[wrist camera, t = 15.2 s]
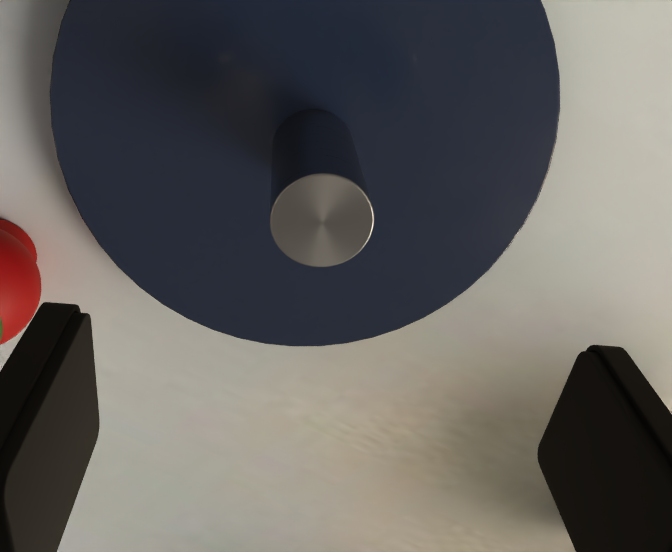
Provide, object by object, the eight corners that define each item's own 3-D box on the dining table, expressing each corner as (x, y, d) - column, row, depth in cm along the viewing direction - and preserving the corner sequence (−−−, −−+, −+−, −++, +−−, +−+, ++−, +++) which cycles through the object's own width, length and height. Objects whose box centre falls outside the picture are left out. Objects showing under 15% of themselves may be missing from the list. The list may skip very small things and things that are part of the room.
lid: (84, 320, 27) (27, 443, 21) (26, -197, 18) (-106, -243, 12) (483, 340, 30) (536, 455, 24) (619, -108, 20) (765, -108, 14)
